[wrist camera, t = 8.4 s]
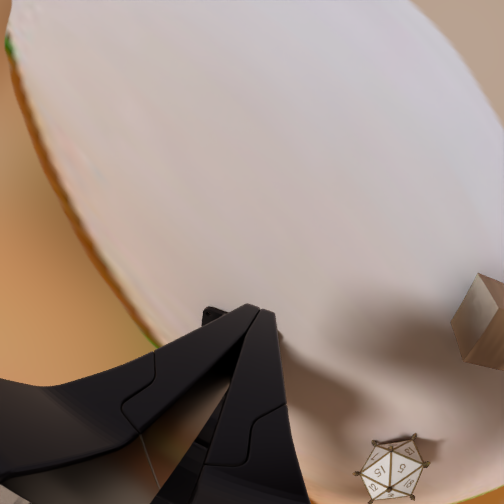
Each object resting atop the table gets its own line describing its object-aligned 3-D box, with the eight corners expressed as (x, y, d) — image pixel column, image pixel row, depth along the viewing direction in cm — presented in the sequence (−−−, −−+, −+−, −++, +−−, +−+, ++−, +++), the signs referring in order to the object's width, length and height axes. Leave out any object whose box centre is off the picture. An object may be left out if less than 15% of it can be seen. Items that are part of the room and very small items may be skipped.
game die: (410, 416, 28) (453, 470, 20) (361, 456, 30) (397, 509, 22) (385, 416, 24) (438, 486, 15) (325, 463, 25) (366, 530, 17)
